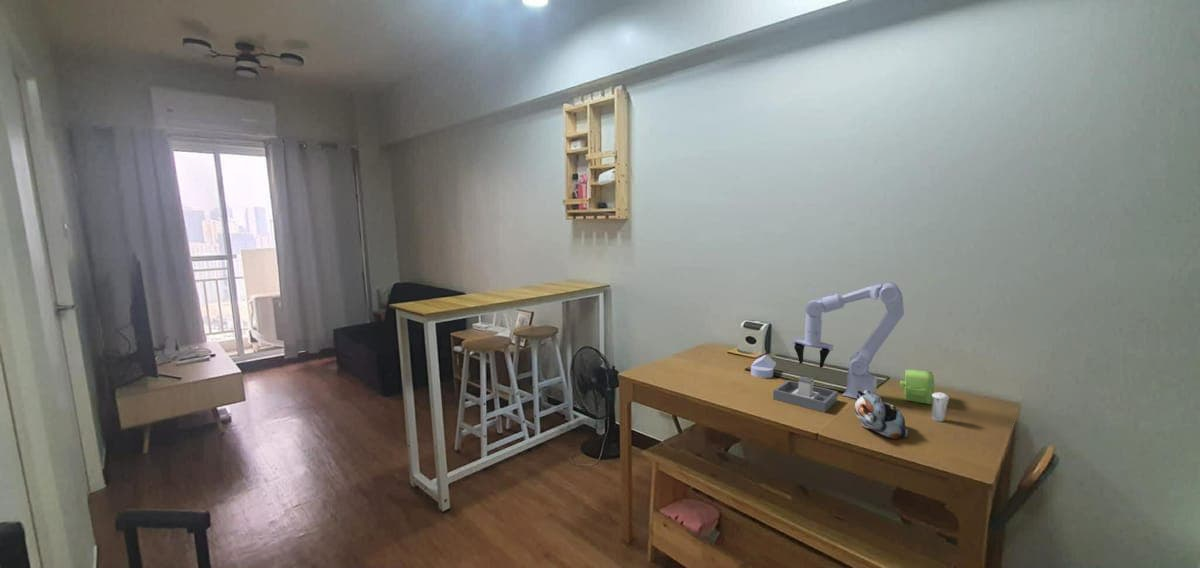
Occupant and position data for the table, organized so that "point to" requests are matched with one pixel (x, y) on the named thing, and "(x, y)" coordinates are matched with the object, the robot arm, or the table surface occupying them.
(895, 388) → the table surface
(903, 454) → the table surface
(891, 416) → the lucky cat figurine
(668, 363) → the table surface
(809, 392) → the block
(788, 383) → the housing
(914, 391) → the gearbox
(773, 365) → the wedge on round base
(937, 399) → the milkshake
